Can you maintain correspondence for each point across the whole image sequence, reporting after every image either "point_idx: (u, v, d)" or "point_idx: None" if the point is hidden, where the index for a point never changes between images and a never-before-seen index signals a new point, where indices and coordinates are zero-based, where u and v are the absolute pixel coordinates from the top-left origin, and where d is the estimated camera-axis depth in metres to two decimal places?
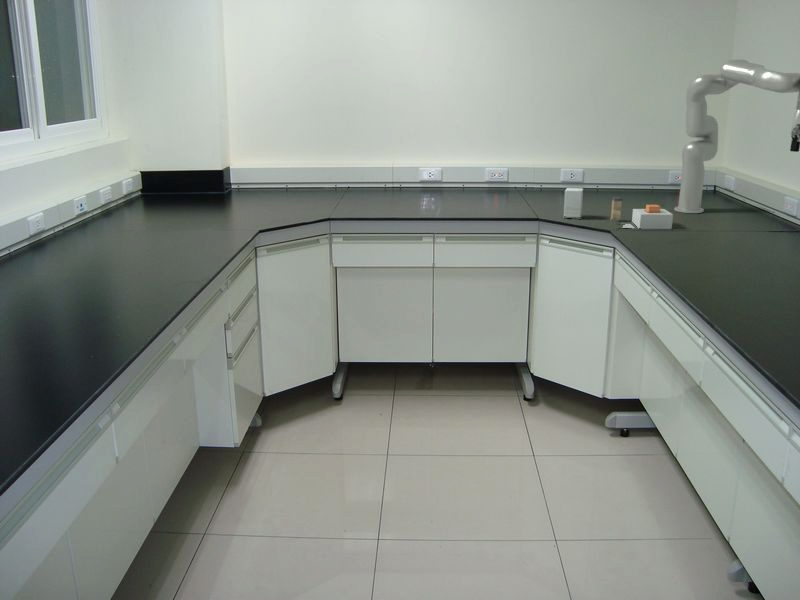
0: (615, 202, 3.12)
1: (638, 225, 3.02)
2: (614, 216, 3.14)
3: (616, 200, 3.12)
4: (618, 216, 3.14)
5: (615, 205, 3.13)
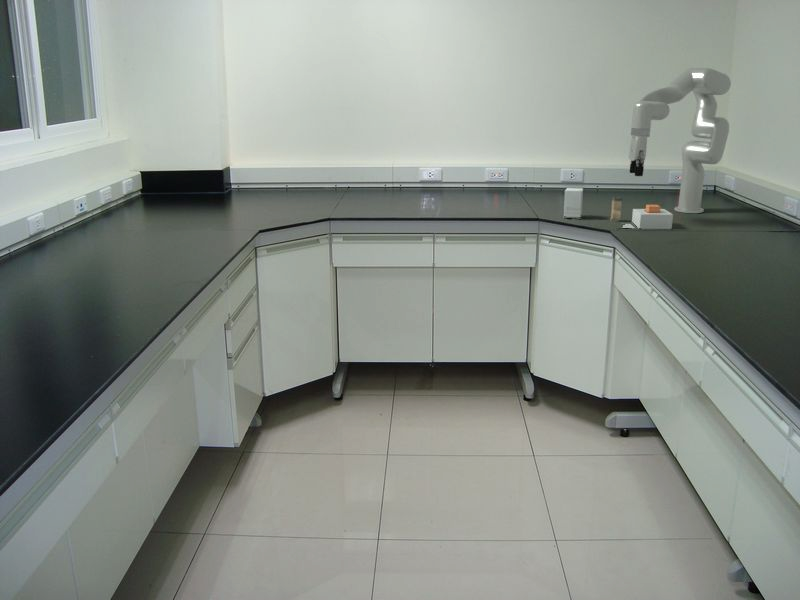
0: (615, 202, 3.12)
1: (638, 225, 3.02)
2: (614, 216, 3.14)
3: (616, 200, 3.12)
4: (618, 216, 3.14)
5: (615, 205, 3.13)
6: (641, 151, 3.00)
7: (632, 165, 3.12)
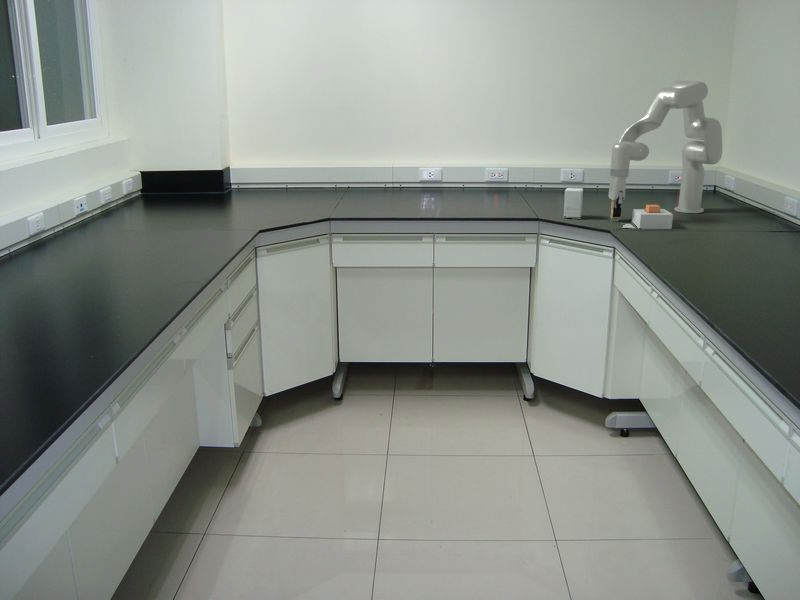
0: None
1: (638, 225, 3.02)
2: None
3: None
4: None
5: None
6: (620, 193, 3.08)
7: None
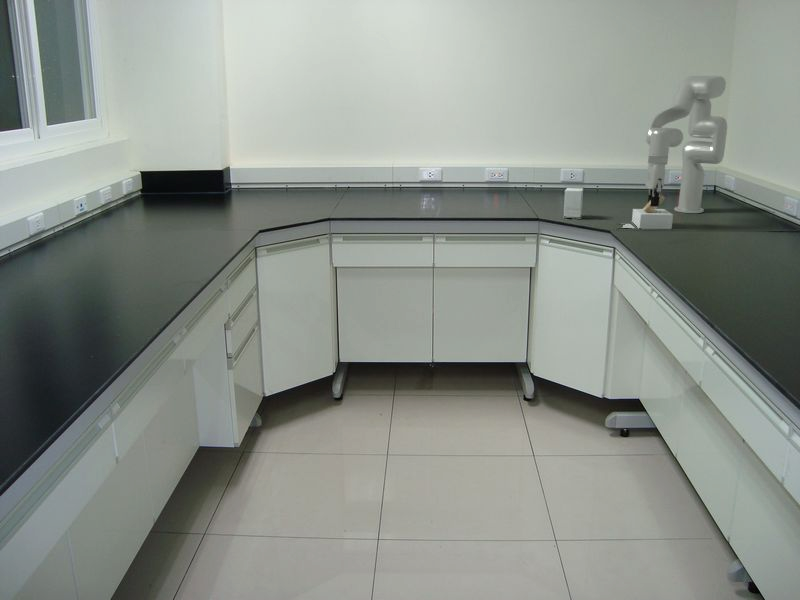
0: None
1: (638, 225, 3.02)
2: (650, 207, 3.02)
3: (662, 193, 3.00)
4: (653, 209, 3.02)
5: None
6: (659, 181, 2.96)
7: (650, 197, 3.04)
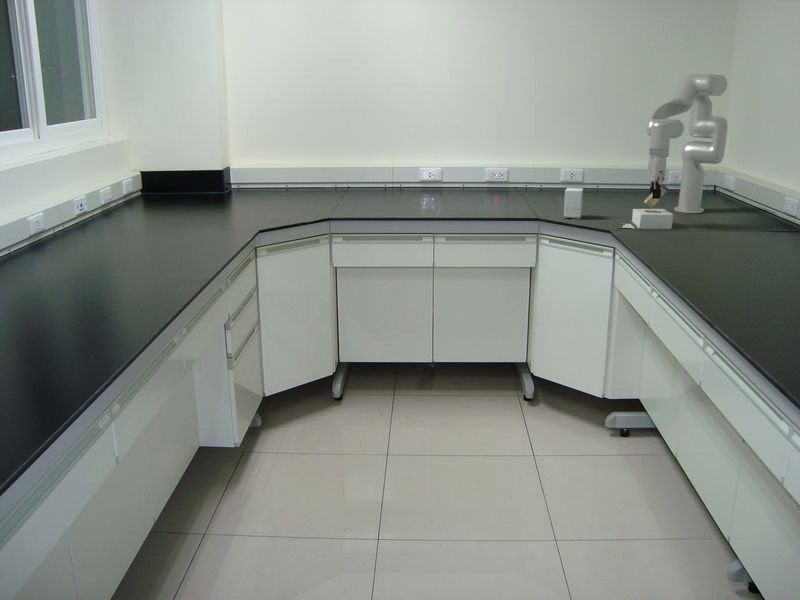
0: (661, 188, 3.00)
1: (638, 225, 3.02)
2: (650, 200, 3.02)
3: (663, 186, 3.00)
4: (654, 202, 3.02)
5: None
6: (660, 174, 2.95)
7: (652, 189, 3.04)
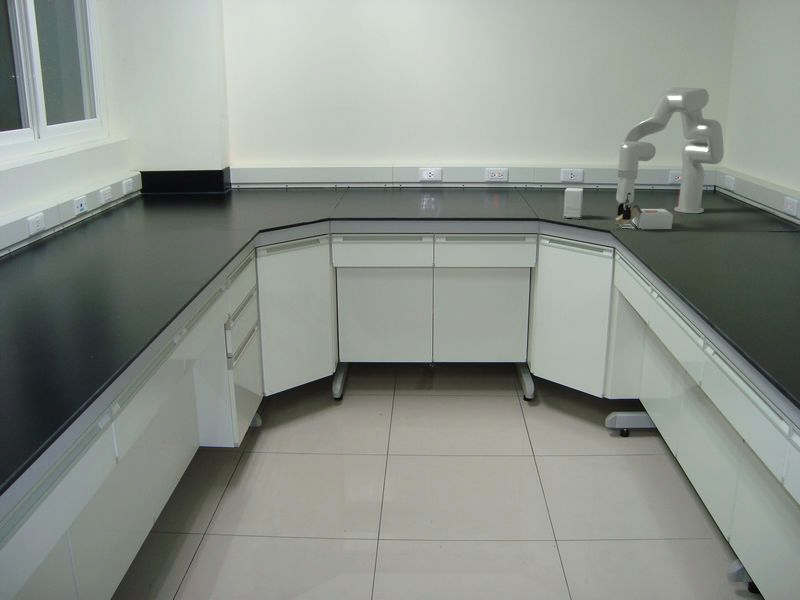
0: (635, 209, 3.00)
1: (638, 225, 3.02)
2: None
3: (637, 208, 2.99)
4: (625, 221, 3.01)
5: (632, 211, 3.00)
6: (629, 194, 2.95)
7: (620, 208, 3.05)
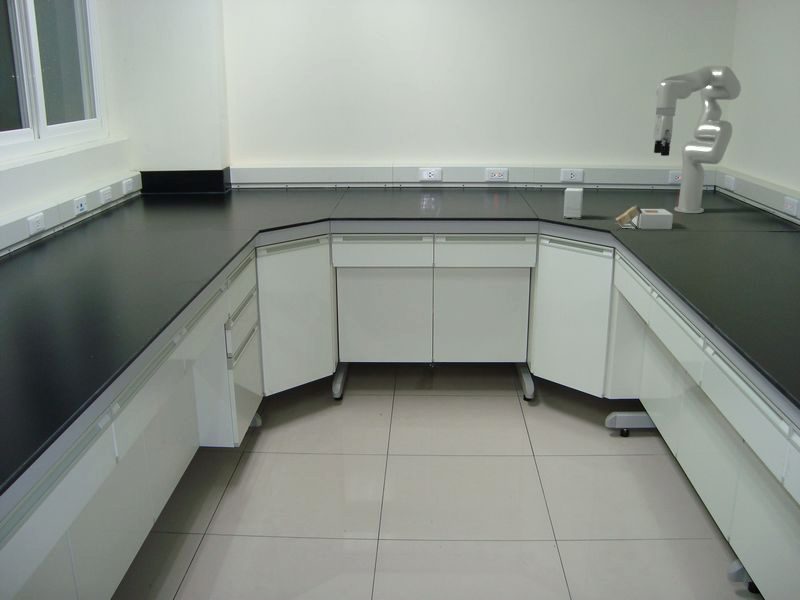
0: (635, 209, 3.00)
1: (638, 225, 3.02)
2: (622, 218, 3.01)
3: (637, 208, 2.99)
4: (625, 221, 3.01)
5: (632, 211, 3.00)
6: (667, 130, 3.00)
7: (656, 145, 3.11)
